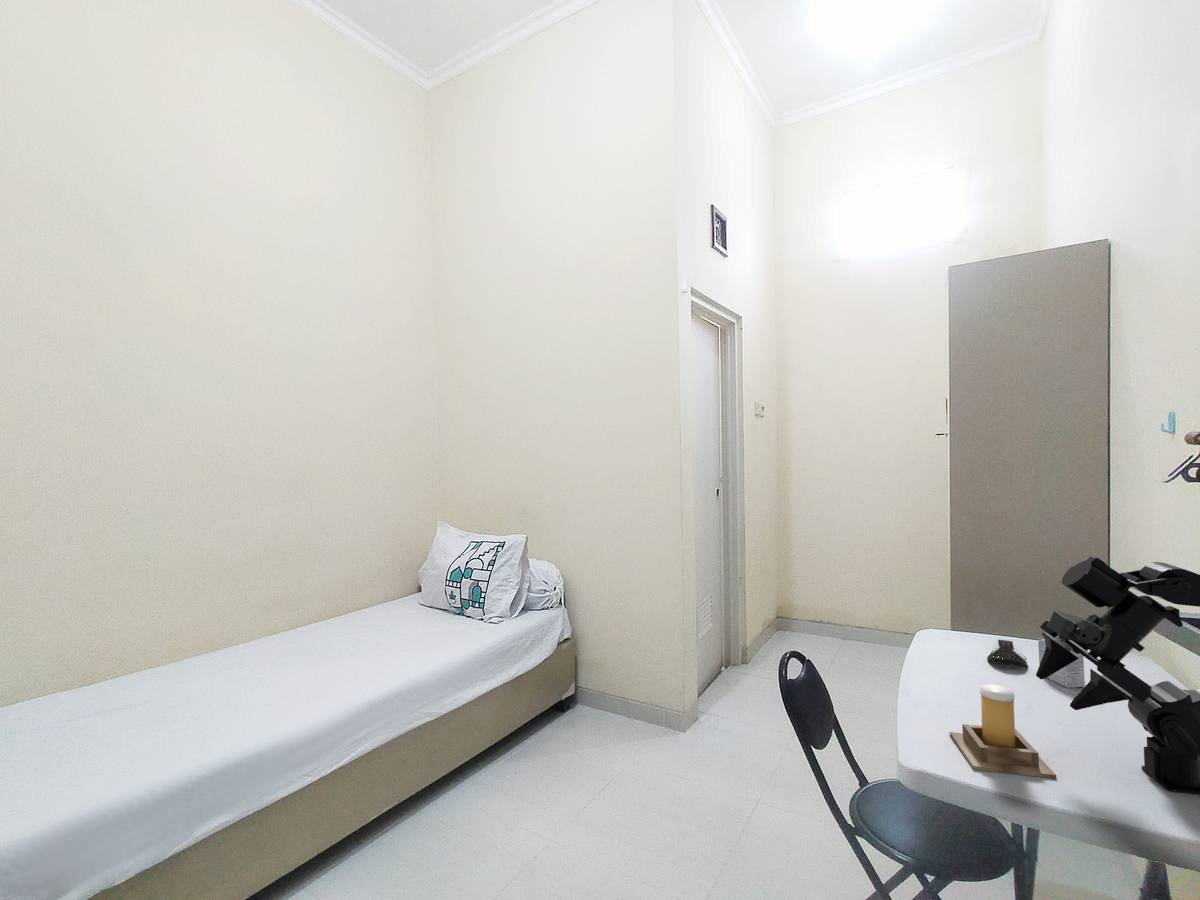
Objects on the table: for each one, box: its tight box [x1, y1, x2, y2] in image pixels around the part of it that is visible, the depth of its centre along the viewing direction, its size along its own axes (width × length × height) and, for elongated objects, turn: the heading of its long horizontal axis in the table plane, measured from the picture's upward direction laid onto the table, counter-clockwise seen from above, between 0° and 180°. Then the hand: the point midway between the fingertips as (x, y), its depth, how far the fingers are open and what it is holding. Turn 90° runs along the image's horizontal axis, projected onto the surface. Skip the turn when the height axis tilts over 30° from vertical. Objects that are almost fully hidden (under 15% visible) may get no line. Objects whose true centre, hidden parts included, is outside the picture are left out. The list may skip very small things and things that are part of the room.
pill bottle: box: [979, 683, 1016, 748], centre depth 99 cm, size 5×5×11 cm
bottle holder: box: [949, 723, 1057, 779], centre depth 99 cm, size 12×12×3 cm
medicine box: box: [1037, 638, 1086, 689], centre depth 129 cm, size 8×4×9 cm, turn 179°
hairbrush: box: [986, 639, 1029, 668], centre depth 146 cm, size 8×4×25 cm
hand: (1054, 692), depth 96 cm, fingers open, 9 cm apart
